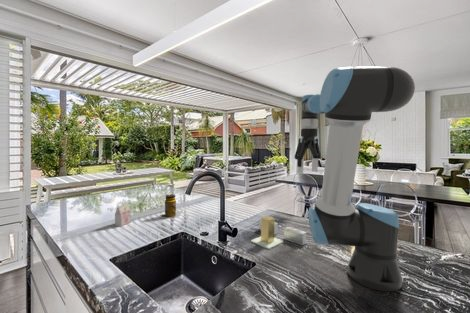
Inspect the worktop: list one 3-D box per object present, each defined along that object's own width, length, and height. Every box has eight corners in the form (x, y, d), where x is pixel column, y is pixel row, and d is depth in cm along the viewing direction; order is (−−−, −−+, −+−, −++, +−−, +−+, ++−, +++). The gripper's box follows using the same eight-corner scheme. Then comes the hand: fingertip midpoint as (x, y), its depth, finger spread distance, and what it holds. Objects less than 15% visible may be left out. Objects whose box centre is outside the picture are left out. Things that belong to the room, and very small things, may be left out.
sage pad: (283, 242, 102) (283, 241, 102) (269, 249, 96) (269, 248, 96) (265, 235, 110) (265, 234, 110) (250, 241, 103) (250, 240, 103)
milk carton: (115, 225, 119) (114, 206, 119) (125, 221, 126) (125, 203, 125) (120, 226, 118) (120, 207, 118) (130, 222, 125) (130, 203, 124)
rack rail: (306, 243, 102) (306, 232, 101) (302, 245, 100) (302, 234, 99) (263, 228, 119) (263, 218, 119) (259, 229, 117) (259, 219, 117)
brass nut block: (273, 240, 103) (274, 218, 102) (268, 243, 100) (268, 220, 99) (266, 238, 106) (267, 216, 105) (260, 240, 103) (261, 217, 102)
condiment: (178, 216, 136) (178, 195, 135) (163, 219, 131) (163, 197, 130) (173, 213, 142) (173, 193, 141) (159, 215, 137) (159, 195, 136)
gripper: (314, 129, 125) (313, 169, 126) (287, 127, 108) (286, 173, 109) (328, 129, 119) (326, 171, 121) (302, 126, 102) (300, 175, 104)
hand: (307, 172), depth 115 cm, fingers open, 13 cm apart
